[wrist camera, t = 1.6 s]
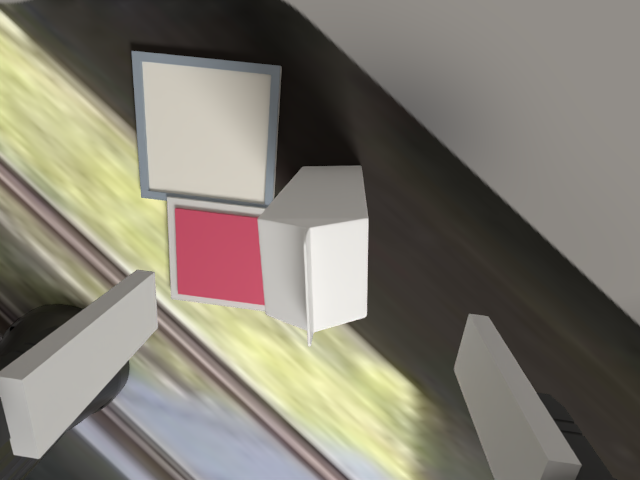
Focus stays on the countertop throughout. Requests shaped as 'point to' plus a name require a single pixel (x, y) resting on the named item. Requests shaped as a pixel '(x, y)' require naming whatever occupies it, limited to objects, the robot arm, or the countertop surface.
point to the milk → (316, 249)
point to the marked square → (206, 128)
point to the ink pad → (215, 253)
